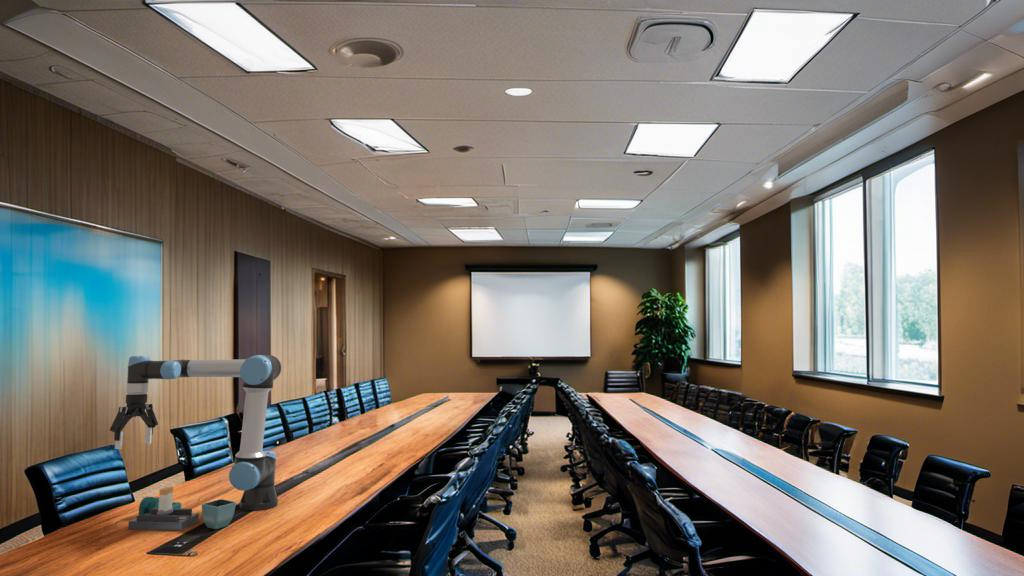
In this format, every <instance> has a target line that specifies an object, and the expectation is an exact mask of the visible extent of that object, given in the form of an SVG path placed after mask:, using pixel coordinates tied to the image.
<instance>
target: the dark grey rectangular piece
mask: <svg viewBox="0 0 1024 576" xmlns="http://www.w3.org/2000/svg"><path fill="white" fill-rule="evenodd" d="M157 512H158V508H153V509H151V514H157ZM192 513H193V509H192V508H181V509H178V508H173V512H172V513H171V514H174V515H139V514H138V515H136V518H137V519H136V521H172V522H177V521H178V520H179V515H190V514H192Z"/></svg>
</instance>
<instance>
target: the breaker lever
mask: <svg viewBox="0 0 1024 576" xmlns="http://www.w3.org/2000/svg"><path fill="white" fill-rule="evenodd" d="M158 495H159V496H158V497H159V508H158V512H157V514H156V515H169V514H171V513H172V512H173V507H172V502H173V500H174V498H173V497H174V486H165V487H163V488H160V489H159V494H158Z"/></svg>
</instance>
